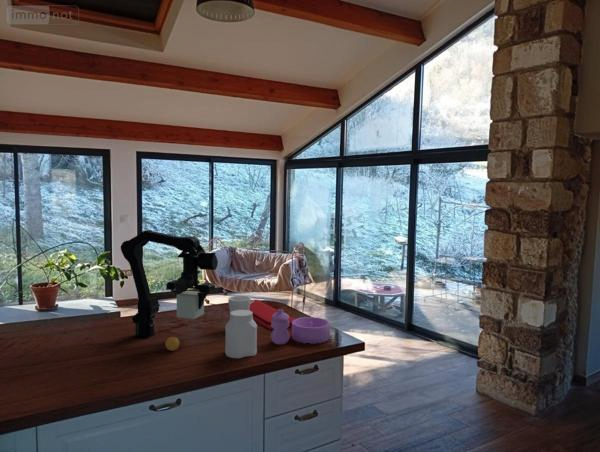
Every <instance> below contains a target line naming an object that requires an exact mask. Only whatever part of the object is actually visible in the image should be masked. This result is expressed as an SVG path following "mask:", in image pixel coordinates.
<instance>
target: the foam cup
mask: <svg viewBox="0 0 600 452" xmlns="http://www.w3.org/2000/svg"><path fill="white" fill-rule="evenodd" d="M227 299H228V306H229V313H230V312H232V311H235V310H249V308H250V304H251V300H252V299H251V297H250V296H248V295H233V296H229V297H228V298H227Z"/></svg>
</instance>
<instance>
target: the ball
mask: <svg viewBox="0 0 600 452" xmlns="http://www.w3.org/2000/svg"><path fill="white" fill-rule="evenodd" d="M179 340H180V339H179V338H178V337H176V336H170V337H168V338H167V339H166V340H165V343H164V345H165V348H166V349H167V350H168V351H173V352H174V351H176V350H177V349H179V347H180V341H179Z"/></svg>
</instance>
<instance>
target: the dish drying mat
mask: <svg viewBox="0 0 600 452" xmlns="http://www.w3.org/2000/svg"><path fill="white" fill-rule="evenodd" d="M249 311H252V312H253V320H254V321H255V323H256V324H257V325H260V326H262V327H264V328H266V329H268V330H270V331H271V332H272V331H273V330H274V329H273V328H272V326H271V322H272V320H273V319H272V315H273V314H274V313H277V312H278V309H276V308H274V307H272V306H270V305H268V304H266V303H264V302H262V301H260V300H259V299H251V304H250V308H249ZM295 319H296V318H295V317H292V316H290V315H289V319H288V321H289V323H290V325H289V328H292V321H293V320H295Z"/></svg>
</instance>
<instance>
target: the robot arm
mask: <svg viewBox="0 0 600 452" xmlns="http://www.w3.org/2000/svg"><path fill="white" fill-rule="evenodd" d="M149 242H151V243H152V242H153V243H156V244H162V245H165V246H171V247H174V248H176V249H177V250H179V251H181V252H180V253H179V254H178V255H177V257H178V258H180V259H181V258H182V271H181V273H180V277H179V278H178V279H174V280H171V281H168V282H167V283H166V287H165V288H166V290H169V291H170V292H171V293H173V294H174V295H175V297H177V294H180V293H183V292H185V291H189V290H198V292H199V293H197V294H198V296H199V304H198V306H199V309H201V307H202V305H203V302H204V303H205V300H206V298H207V295H208V294H210V293H213V292H214V291H216V286H215V284H214V283H213V282H212V283H210V282H204V283H202V284H201V281H200V280H199V274H200V273H201V272H200V270H201V271H202V270H205V271H206V270H207V271H208V270H209V271H216V270H217V269H218V262H219V260H218V258H217V255H216V252H206V251H205V249H204V248H203V246H202V244H201V242H200V239H199V238H198V237H197V236H193V235H192V236H191V235H190V236H189V235H188V236H185V235H183V236H178V235H172V234H168V233H163V232H158V231H154V230H152V229H145V230H142V231H141V232H140V233H139V234H137V235H136V236H134V237H132V238H131V239H128V240H125V241H123V242H122V243H121V245H120V251H121V254H122V255H123V257H124V259H125V260H126V261H127V262H128V264H129V268H130V270H131V275H132V278H133V282H134V286H135V289H136V292H137V297H138V299H137V300H138V301H137V303H136V305H137V306H136V307H137V312H136V314H134V316H132V318H131V320H132V322H133V324H135V334H133V335H132V336H133V337H134V338H140V339H141V338H142V339H148V338H150V337H151V336H154V335H156V332H155V324H154V320H153V319H155V318H156V315H157V314H158V313H159V311H160V307H161V304H160V303H159V298H158V296H153V295H152V293H151V289H150V287H149V286H150V285H149V281H148V278H147V275H146V271H145V267H144V264H143V260H142V259H143V257H144V256H143V255H144V249H143V247H145V246H146V245H147V244H148V243H149ZM199 269H200V270H199Z"/></svg>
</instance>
